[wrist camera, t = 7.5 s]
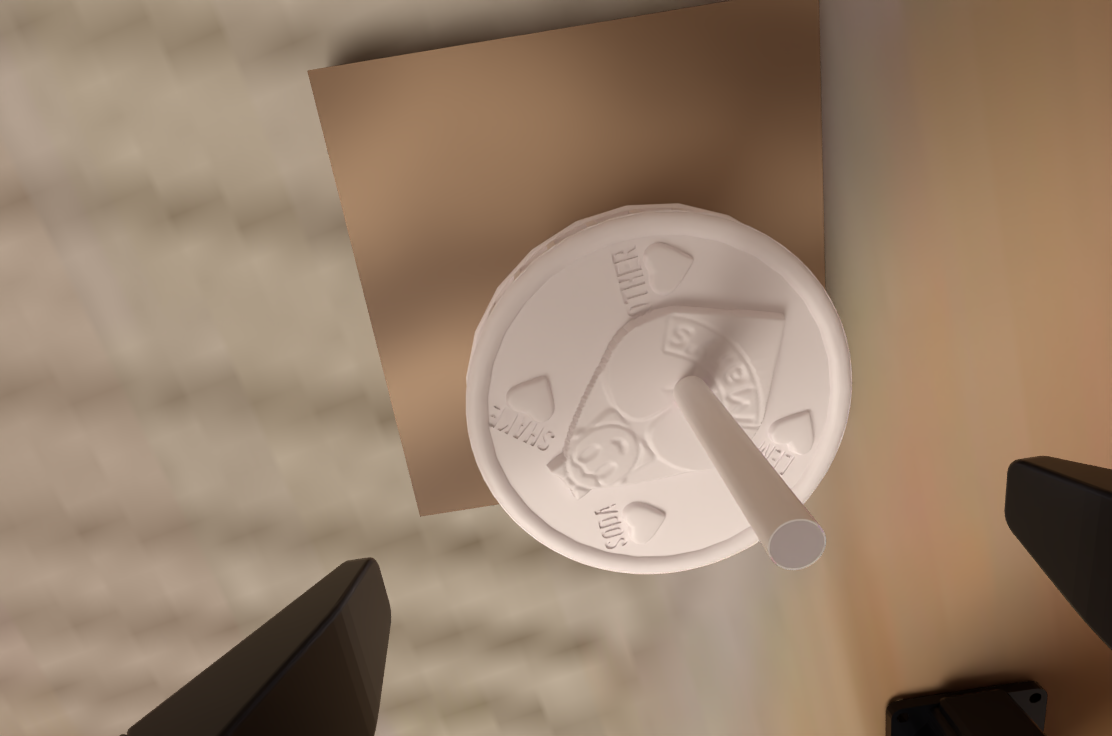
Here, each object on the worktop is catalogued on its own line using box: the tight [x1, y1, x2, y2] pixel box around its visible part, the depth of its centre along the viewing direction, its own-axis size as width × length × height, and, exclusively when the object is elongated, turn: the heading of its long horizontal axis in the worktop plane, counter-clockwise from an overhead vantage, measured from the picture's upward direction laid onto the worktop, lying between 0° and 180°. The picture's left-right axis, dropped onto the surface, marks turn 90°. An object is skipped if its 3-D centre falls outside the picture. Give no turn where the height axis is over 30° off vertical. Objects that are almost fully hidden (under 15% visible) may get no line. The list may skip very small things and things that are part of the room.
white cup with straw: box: [466, 203, 852, 574], centre depth 13 cm, size 6×6×14 cm
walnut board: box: [308, 0, 825, 516], centre depth 20 cm, size 14×14×2 cm
